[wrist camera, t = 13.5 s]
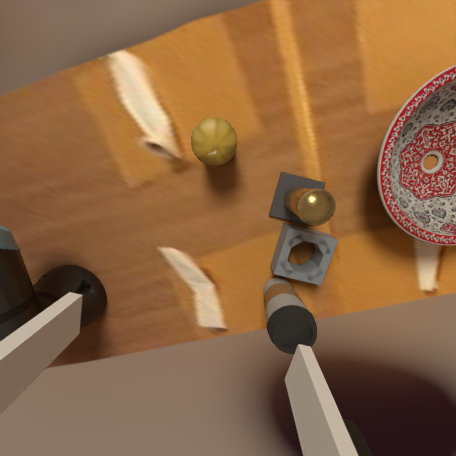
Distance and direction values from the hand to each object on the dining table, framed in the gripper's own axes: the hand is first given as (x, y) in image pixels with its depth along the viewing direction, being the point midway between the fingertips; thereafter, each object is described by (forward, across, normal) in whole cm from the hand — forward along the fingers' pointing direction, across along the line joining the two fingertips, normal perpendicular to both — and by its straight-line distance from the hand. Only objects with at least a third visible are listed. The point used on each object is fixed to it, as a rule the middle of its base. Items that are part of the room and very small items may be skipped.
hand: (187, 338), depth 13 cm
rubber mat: (+35, +14, +8) cm, 38 cm away
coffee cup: (+35, +16, -13) cm, 40 cm away
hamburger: (+35, -4, +14) cm, 38 cm away
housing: (+35, +18, -2) cm, 39 cm away
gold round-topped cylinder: (+34, +14, +8) cm, 38 cm away
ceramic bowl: (+35, +37, +21) cm, 55 cm away
